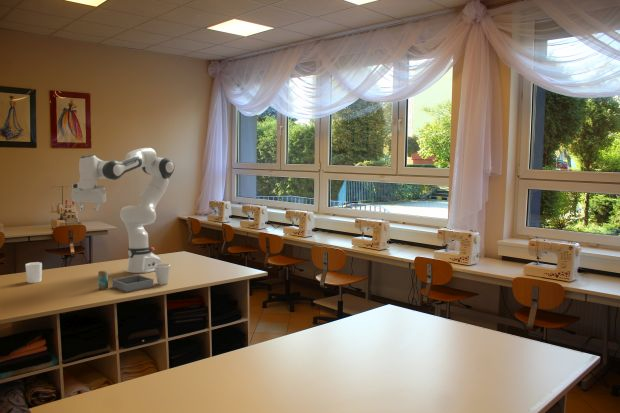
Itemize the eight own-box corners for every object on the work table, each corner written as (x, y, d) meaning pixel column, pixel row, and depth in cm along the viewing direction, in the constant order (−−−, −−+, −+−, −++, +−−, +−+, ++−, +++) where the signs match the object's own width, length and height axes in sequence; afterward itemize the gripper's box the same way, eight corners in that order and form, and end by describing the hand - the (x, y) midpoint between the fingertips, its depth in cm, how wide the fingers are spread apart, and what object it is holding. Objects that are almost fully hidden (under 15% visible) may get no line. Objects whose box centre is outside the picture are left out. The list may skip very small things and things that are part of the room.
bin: (139, 282, 272) (138, 274, 271) (153, 286, 262) (153, 279, 261) (112, 287, 261) (112, 279, 260) (126, 292, 251) (126, 284, 250)
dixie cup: (173, 283, 269) (173, 265, 268) (158, 285, 264) (158, 267, 263) (166, 280, 275) (166, 262, 274) (152, 283, 270) (151, 264, 269)
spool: (105, 287, 261) (105, 270, 260) (109, 288, 258) (109, 271, 257) (97, 288, 258) (96, 271, 257) (101, 290, 255) (100, 272, 254)
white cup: (46, 280, 275) (45, 262, 274) (33, 283, 267) (33, 265, 266) (35, 279, 277) (34, 261, 276) (22, 282, 270) (21, 264, 269)
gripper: (108, 185, 267) (109, 211, 268) (77, 184, 273) (78, 209, 274) (100, 185, 261) (101, 212, 262) (69, 185, 267) (69, 210, 268)
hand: (89, 210), depth 268 cm, fingers open, 8 cm apart
